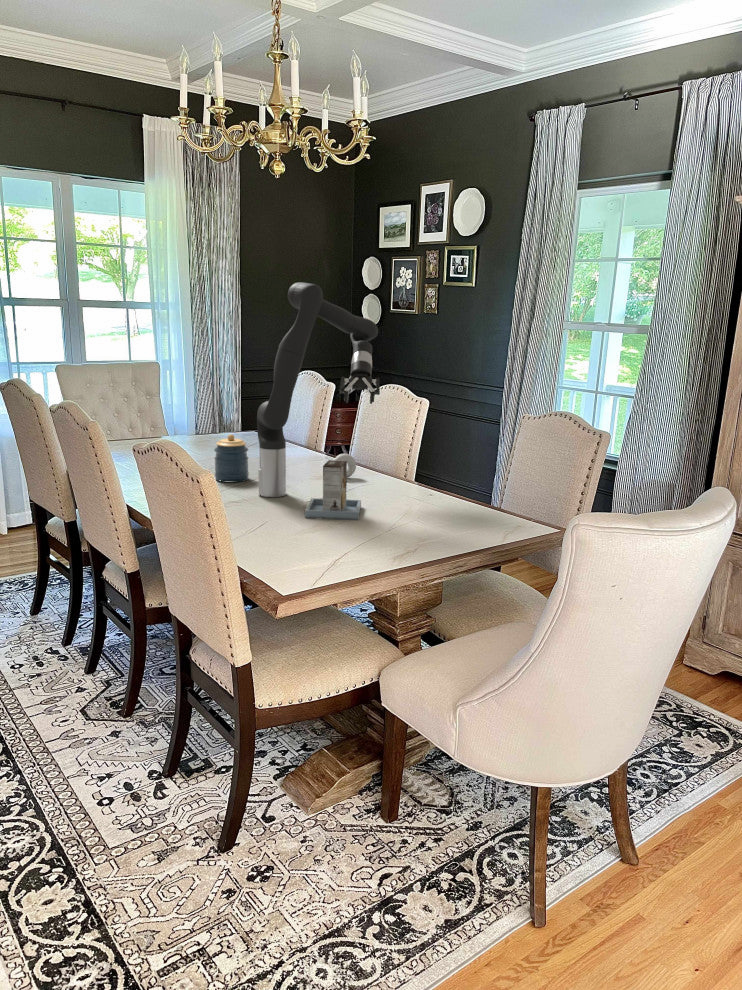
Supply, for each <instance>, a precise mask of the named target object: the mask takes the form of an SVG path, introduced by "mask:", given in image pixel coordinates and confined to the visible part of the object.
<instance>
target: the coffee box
mask: <svg viewBox="0 0 742 990" xmlns="http://www.w3.org/2000/svg"><path fill="white" fill-rule="evenodd" d="M347 467H348V464H347V461H334V459H333V460H330V459H329V460H327V462H325V463H324V464H323V465H322V499H323V510H326V511H344V510H345V508H346V500H347V479H348V478H347Z"/></svg>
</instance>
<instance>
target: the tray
mask: <svg viewBox="0 0 742 990" xmlns="http://www.w3.org/2000/svg"><path fill="white" fill-rule="evenodd" d="M360 509H362V500H361V499H346V508H345V510H344V511H326V510H323V498H319V497H318V498H313V497H312V498H310V501H309V502H308V504H307V507H306V508H305V510H304V519H316V518H322V519H321V520H324V519H325V520H344V521H345V520H347V521H348V520H349V521H351V520H352V521H358V520H359V517H360V513H361V510H360Z"/></svg>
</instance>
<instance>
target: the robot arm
mask: <svg viewBox="0 0 742 990" xmlns="http://www.w3.org/2000/svg"><path fill="white" fill-rule="evenodd" d="M287 299H288V302H289V304H290V305H291V306H292V307H293V308H295V309H297V310H298V313H297V316H296V319H295V321H294V323H293V325H292V326H291V328H290V329H289V331H288V332H286V334H285V335H284V336H283V338H282V340H280V343H279V344H278V349H277V353H276V355H275V360H274V363H273V364H274V365H273V385H272V390H271V393H270V397H269V400H266V401H264V402H262V403H261V404H260V405H259V407H258V409H257V411H256V412H257V415H256V426H257V439H258V443H259V445H258V447H259V469H258V471H257V473H258V496H259V497H265V498H280V497H283V496H286V494H287V474H286V473H287V466H286V465H287V459H286V458H287V455H286V454H287V449H286V448H287V444H286V443H287V442H286V438H285V435H284V427H285V425H286V424H287V422H288V419H289V415H290V411H291V409H290V408H291V403H292V399H293V398H292V397H293V394H294V390H295V387H296V384H297V381H298V379H299V378H298V377H299V374H300V372H301V368H302V365H303V362H304V358H305V354H306V350H307V346H308V343H309V340H310V338H311V334H312V331H313V328H314V325H315V322H316V320H317V318H320V319H322V320H323V321H325V322H327V323H329V324H330V325H332V326H333V327H334V328H337V329H338V330H340V331H342V332H344V333H345V334H350V335H349V336H350V341H351V343H352V344H351V345H352V348H353V349H352V357H351V365H350V376H349V377H348V378H347V377H346V378H345V376H344V375H343V376H341V377H340V384H339V394H343V401H344V403H346V404H348V403H349V394H351V393H352V392H353V391H366V392H367V393H368V394H369V395H370V396H369V404H370V405H372V404H373V403H374V402H375V396H376V395H377V396H379V395H380V394H381V393H380V392H381V391H380V389H381V386H380V383H381V382H380V381H381V380H380V377H376V378H375V379H373V378H372V371H373V346H372V344H371V342H370V341H373V340H375V338H376V337H377V336H378V335H379V334H378V333H379V328H378V326H377V324H376V323H375V322H374V321H373V320H371V319H368V318H366V317H362V316H358V315H355V314H352V312H350V311H348V310H346V309H345V308H342V307H341V306H338V305H336V304H333V303H331V302H329V301H327V300H325V299H324V294H323V290H322V288H321V286H320V285H317V284H315V283H309V282H305V281H304V282H300V281H299V282H294V283H293V284H292V285H291V286H290V287H289V289H288V292H287ZM348 383H349V384H348ZM347 384H348V385H347ZM372 384H373V385H374V386H376V387H375V388H376V389H374V387H373V386H372ZM345 385H347V386H346V387H345ZM260 495H261V496H260Z"/></svg>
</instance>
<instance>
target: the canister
mask: <svg viewBox="0 0 742 990" xmlns="http://www.w3.org/2000/svg"><path fill="white" fill-rule="evenodd" d="M215 444H216V447H215V448H214V449H213V452H215V456H214V457H213V458H214V477H216V478H215V480H216V481H218V480H221V481H241V482H244V481H243V480H245V481H247V480H249V475H250V474H249V456H248V451H249V448H248V447H246V445H247V442H245V441H244V440H242V439H241V438H235V435H234V434H232V433H230V434H228V436H227V438H221V439H219V441H217V442H216V443H215ZM246 479H247V480H246ZM221 481H220V482H221ZM218 482H219V481H218Z"/></svg>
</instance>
